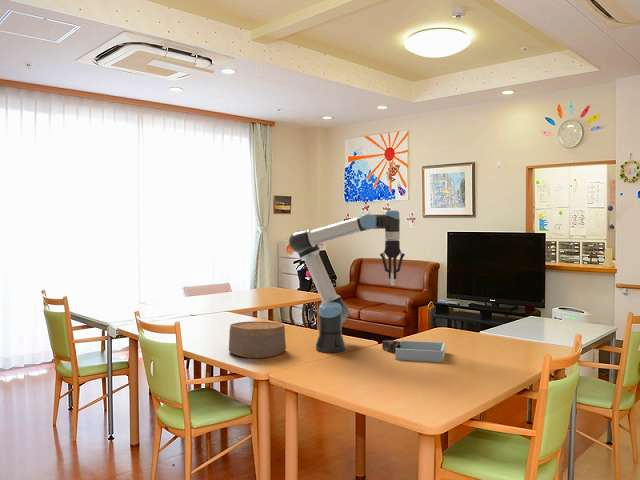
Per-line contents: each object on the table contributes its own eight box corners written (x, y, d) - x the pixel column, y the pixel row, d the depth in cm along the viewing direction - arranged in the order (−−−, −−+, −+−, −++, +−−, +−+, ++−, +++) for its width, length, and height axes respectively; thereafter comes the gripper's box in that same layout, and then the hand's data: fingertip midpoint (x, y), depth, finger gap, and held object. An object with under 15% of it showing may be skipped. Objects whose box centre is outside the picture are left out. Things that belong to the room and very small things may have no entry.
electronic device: (390, 343, 270) (404, 341, 273) (381, 340, 279) (394, 338, 281) (391, 352, 270) (404, 350, 273) (382, 348, 279) (394, 346, 282)
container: (294, 350, 279) (294, 321, 279) (266, 362, 254) (266, 330, 254) (248, 345, 291) (247, 317, 290) (217, 356, 266) (217, 326, 265)
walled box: (395, 359, 257) (395, 348, 257) (400, 350, 277) (400, 340, 277) (442, 362, 251) (442, 351, 251) (445, 352, 271) (445, 342, 271)
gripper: (378, 240, 281) (378, 285, 281) (404, 240, 277) (404, 286, 278) (381, 240, 288) (381, 284, 288) (405, 240, 284) (406, 284, 285)
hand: (392, 285), depth 283 cm, fingers closed
